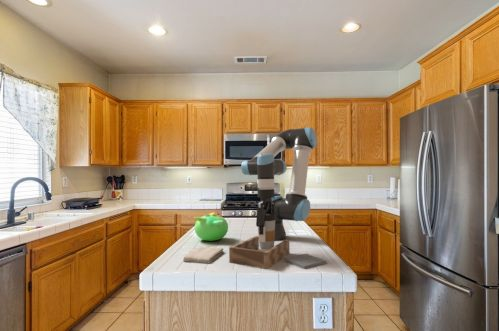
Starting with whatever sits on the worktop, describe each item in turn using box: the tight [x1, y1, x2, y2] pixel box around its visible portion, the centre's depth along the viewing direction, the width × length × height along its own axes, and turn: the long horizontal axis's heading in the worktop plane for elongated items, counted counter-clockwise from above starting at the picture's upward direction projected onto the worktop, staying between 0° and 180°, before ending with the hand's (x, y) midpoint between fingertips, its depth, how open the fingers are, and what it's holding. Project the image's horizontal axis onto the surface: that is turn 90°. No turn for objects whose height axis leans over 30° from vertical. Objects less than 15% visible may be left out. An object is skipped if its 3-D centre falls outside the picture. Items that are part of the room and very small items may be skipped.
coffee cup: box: [257, 213, 276, 251], centre depth 126 cm, size 8×8×15 cm
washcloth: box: [183, 246, 224, 264], centre depth 123 cm, size 12×18×3 cm, turn 166°
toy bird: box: [193, 212, 229, 242], centre depth 153 cm, size 18×17×15 cm
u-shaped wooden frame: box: [228, 235, 291, 270], centre depth 121 cm, size 24×17×6 cm
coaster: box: [283, 253, 328, 269], centre depth 114 cm, size 12×12×1 cm
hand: (266, 239), depth 126 cm, fingers closed on coffee cup, 8 cm apart
